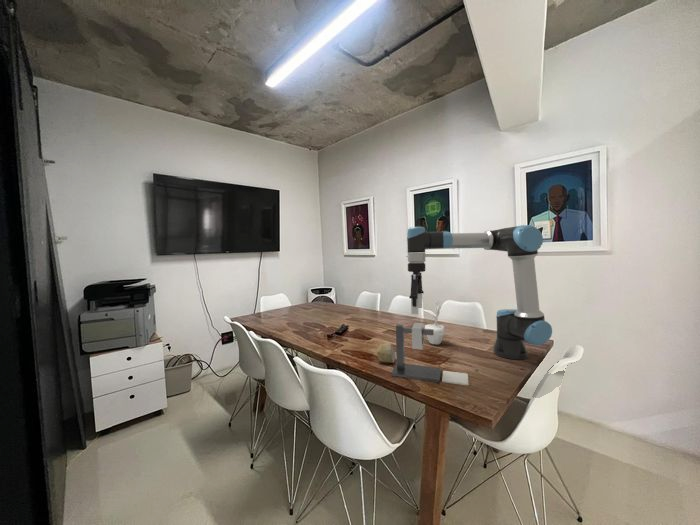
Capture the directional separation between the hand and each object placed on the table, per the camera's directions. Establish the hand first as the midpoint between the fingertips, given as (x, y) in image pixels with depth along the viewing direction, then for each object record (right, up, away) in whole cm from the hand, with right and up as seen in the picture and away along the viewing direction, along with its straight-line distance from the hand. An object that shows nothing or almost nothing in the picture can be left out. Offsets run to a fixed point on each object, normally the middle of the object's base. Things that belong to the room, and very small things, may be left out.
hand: (417, 310), depth 120 cm
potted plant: (+20, -26, +41) cm, 52 cm away
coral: (-11, -28, +16) cm, 34 cm away
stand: (0, -28, +1) cm, 28 cm away
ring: (+1, -16, 0) cm, 16 cm away
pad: (+15, -28, -5) cm, 32 cm away
